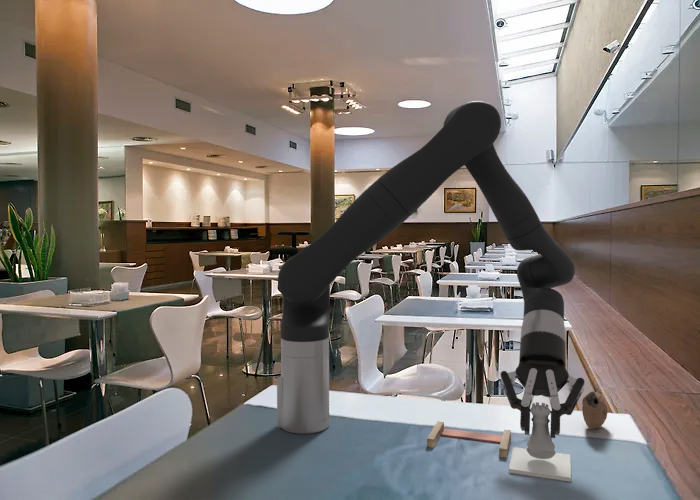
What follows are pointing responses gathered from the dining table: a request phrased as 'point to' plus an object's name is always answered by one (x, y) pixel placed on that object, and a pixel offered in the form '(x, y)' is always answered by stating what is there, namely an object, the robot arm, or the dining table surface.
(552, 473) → the tile
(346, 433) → the dining table surface
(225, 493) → the dining table surface
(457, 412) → the dining table surface
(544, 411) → the rook chess piece
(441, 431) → the wooden u-shaped frame
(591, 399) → the oil lamp
